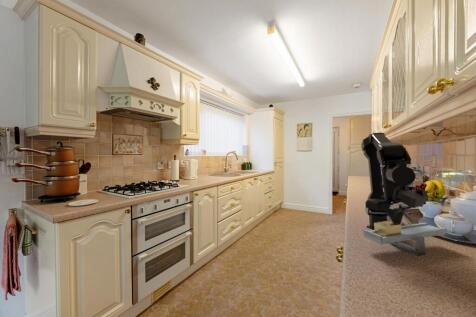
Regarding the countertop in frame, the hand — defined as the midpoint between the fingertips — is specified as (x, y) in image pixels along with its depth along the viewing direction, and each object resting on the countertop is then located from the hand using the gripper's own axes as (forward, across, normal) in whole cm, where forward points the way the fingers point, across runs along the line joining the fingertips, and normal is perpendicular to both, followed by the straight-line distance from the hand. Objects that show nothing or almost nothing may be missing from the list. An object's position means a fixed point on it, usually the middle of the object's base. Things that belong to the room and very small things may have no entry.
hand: (397, 227), depth 69 cm
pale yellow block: (+2, -4, 0) cm, 4 cm away
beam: (+3, +3, 0) cm, 4 cm away
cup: (+8, +24, +24) cm, 35 cm away
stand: (+8, +3, 0) cm, 8 cm away
